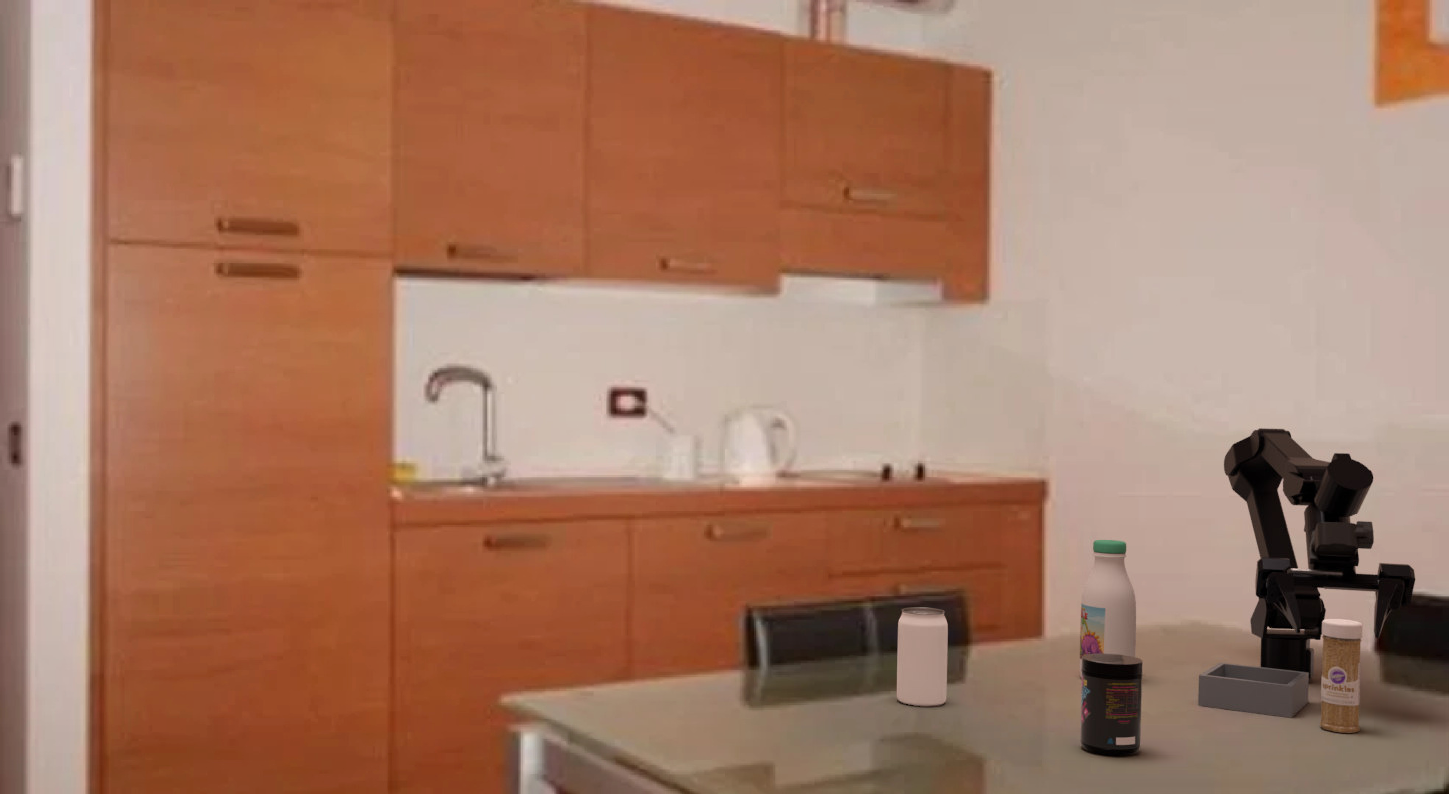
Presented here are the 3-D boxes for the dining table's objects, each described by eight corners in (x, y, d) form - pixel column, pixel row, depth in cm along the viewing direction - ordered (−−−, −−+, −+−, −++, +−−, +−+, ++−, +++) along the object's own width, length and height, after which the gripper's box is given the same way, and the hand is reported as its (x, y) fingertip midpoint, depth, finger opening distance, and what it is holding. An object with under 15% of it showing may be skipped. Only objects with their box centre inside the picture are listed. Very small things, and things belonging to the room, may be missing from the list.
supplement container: (1114, 741, 161) (1116, 652, 161) (1153, 755, 155) (1155, 662, 155) (1067, 745, 159) (1069, 655, 159) (1105, 760, 153) (1107, 665, 153)
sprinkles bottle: (1321, 731, 168) (1323, 621, 168) (1318, 724, 173) (1320, 616, 173) (1362, 735, 167) (1364, 624, 167) (1358, 727, 171) (1360, 619, 171)
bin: (1198, 705, 182) (1198, 675, 182) (1219, 691, 192) (1219, 662, 192) (1291, 717, 176) (1292, 686, 176) (1308, 702, 186) (1308, 672, 186)
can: (945, 708, 177) (947, 615, 177) (894, 705, 178) (896, 612, 178) (947, 698, 183) (949, 608, 183) (898, 695, 184) (900, 605, 184)
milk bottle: (1129, 675, 202) (1131, 539, 202) (1139, 686, 194) (1142, 544, 194) (1075, 673, 203) (1078, 537, 203) (1084, 683, 195) (1086, 542, 195)
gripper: (1258, 496, 182) (1262, 589, 172) (1413, 501, 177) (1428, 598, 166) (1253, 550, 190) (1257, 643, 179) (1402, 557, 184) (1415, 653, 173)
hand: (1337, 633), depth 174 cm, fingers open, 9 cm apart
